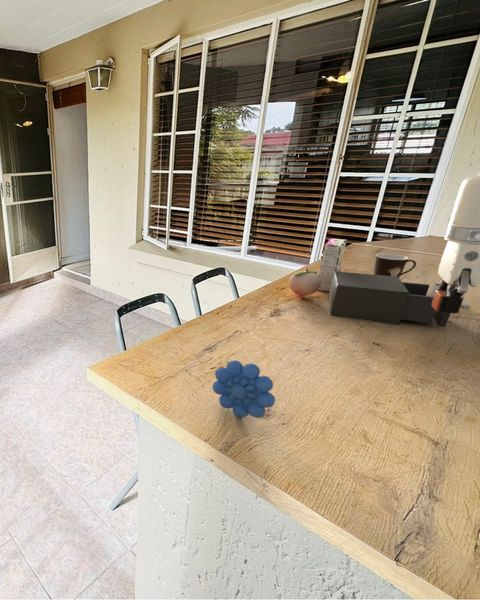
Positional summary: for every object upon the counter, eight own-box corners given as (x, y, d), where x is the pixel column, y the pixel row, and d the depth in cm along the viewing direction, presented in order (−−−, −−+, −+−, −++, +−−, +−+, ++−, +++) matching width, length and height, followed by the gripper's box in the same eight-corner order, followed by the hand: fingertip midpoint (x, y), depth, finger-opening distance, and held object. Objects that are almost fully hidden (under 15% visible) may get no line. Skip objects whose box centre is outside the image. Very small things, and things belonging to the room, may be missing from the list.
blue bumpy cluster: (281, 422, 64) (292, 366, 60) (261, 439, 60) (271, 381, 56) (224, 392, 73) (230, 341, 68) (204, 405, 69) (209, 353, 65)
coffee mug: (369, 285, 124) (376, 258, 120) (368, 278, 131) (375, 252, 127) (413, 290, 118) (422, 262, 114) (409, 283, 124) (418, 255, 121)
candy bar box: (321, 281, 130) (330, 238, 124) (337, 283, 127) (347, 239, 121) (314, 290, 123) (324, 244, 117) (331, 292, 120) (342, 245, 114)
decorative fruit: (305, 303, 112) (311, 274, 109) (282, 296, 119) (287, 268, 116) (324, 298, 116) (330, 269, 112) (300, 290, 123) (306, 263, 119)
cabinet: (389, 306, 107) (398, 276, 104) (399, 325, 96) (409, 292, 92) (328, 298, 115) (334, 271, 112) (330, 315, 104) (337, 285, 100)
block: (453, 307, 85) (458, 292, 84) (458, 313, 82) (464, 297, 81) (431, 304, 87) (435, 290, 86) (435, 310, 84) (440, 295, 83)
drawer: (452, 311, 100) (461, 286, 97) (468, 330, 89) (479, 302, 86) (368, 301, 109) (375, 278, 106) (375, 317, 99) (382, 292, 96)
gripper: (510, 243, 70) (479, 325, 76) (479, 227, 83) (455, 298, 89) (458, 241, 74) (432, 319, 80) (436, 226, 87) (415, 295, 93)
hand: (444, 307), depth 85 cm, fingers closed on block, 4 cm apart
